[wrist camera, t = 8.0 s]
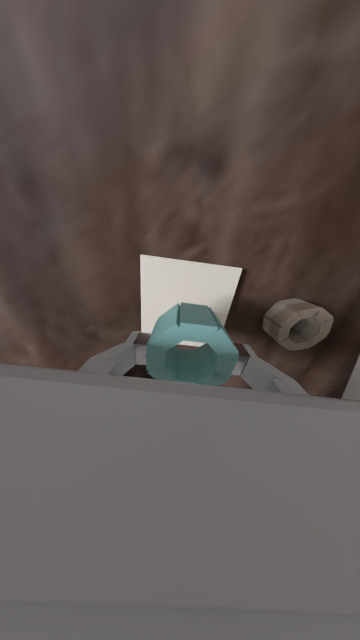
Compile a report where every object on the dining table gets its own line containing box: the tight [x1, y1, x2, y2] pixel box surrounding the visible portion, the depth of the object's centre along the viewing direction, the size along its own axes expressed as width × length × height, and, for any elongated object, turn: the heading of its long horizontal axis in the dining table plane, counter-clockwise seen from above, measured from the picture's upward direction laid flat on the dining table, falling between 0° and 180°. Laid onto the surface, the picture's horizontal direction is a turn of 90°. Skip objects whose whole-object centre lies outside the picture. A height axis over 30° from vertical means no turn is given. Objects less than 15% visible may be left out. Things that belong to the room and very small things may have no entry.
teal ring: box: [146, 302, 239, 386], centre depth 10 cm, size 6×6×4 cm
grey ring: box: [263, 298, 334, 351], centre depth 17 cm, size 6×6×4 cm
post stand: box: [140, 255, 243, 347], centre depth 16 cm, size 12×12×6 cm
